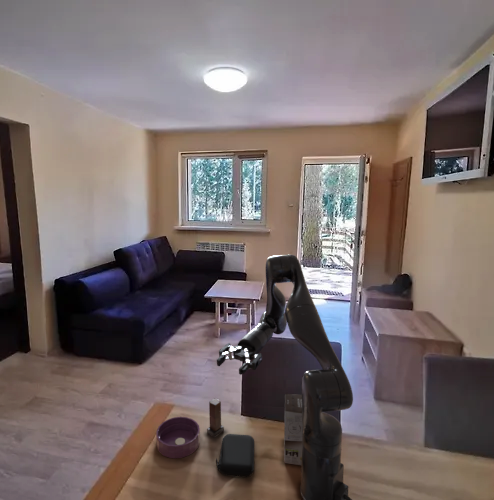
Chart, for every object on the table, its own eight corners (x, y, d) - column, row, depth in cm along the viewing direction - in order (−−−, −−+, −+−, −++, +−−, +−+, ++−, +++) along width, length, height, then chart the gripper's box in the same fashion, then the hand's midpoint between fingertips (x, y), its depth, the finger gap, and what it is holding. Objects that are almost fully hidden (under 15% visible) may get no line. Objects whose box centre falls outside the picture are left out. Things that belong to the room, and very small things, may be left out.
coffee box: (307, 466, 93) (308, 413, 91) (283, 463, 95) (284, 411, 92) (305, 443, 102) (307, 394, 100) (284, 440, 103) (285, 392, 101)
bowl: (208, 443, 103) (208, 429, 102) (175, 467, 94) (174, 453, 93) (181, 423, 112) (181, 411, 111) (148, 444, 102) (147, 431, 102)
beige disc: (187, 443, 102) (187, 441, 102) (179, 448, 100) (179, 446, 100) (180, 438, 104) (180, 436, 104) (173, 443, 102) (173, 441, 102)
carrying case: (220, 439, 104) (213, 478, 90) (219, 430, 104) (213, 468, 89) (254, 441, 103) (253, 481, 89) (254, 432, 103) (253, 471, 88)
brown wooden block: (216, 427, 110) (216, 396, 108) (223, 432, 107) (223, 400, 106) (207, 434, 107) (206, 402, 105) (214, 439, 104) (213, 406, 103)
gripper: (235, 328, 124) (210, 351, 111) (270, 339, 116) (247, 364, 103) (236, 346, 126) (211, 370, 113) (271, 357, 118) (248, 385, 106)
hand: (228, 367), depth 108 cm, fingers open, 8 cm apart
